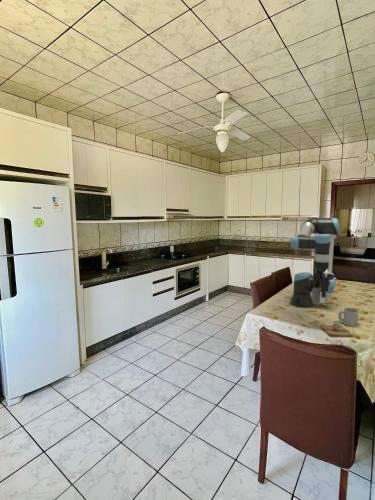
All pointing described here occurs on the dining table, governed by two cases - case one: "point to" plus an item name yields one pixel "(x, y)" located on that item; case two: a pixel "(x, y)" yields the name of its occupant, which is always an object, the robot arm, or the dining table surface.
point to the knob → (317, 294)
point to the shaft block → (336, 330)
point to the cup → (349, 317)
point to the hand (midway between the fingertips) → (319, 300)
